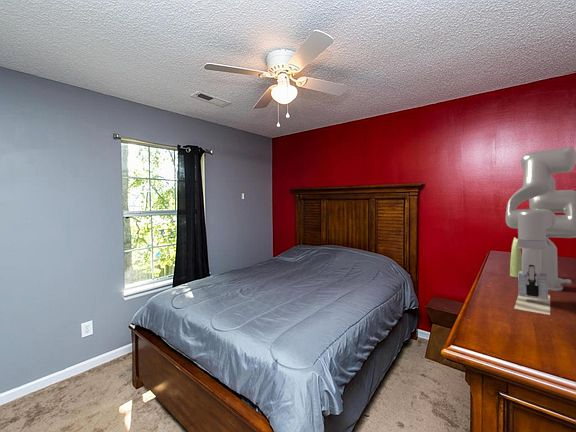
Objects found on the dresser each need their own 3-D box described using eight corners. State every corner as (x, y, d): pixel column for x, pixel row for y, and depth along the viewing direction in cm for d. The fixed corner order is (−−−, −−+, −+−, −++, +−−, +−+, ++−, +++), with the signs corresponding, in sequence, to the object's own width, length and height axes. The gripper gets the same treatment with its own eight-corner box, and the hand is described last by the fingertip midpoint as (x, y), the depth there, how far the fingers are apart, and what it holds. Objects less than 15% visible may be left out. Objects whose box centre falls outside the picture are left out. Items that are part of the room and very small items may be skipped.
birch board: (519, 294, 112) (519, 291, 112) (550, 299, 105) (550, 295, 105) (514, 312, 94) (514, 308, 94) (550, 319, 88) (550, 314, 88)
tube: (526, 277, 135) (526, 238, 134) (518, 278, 133) (517, 239, 133) (514, 275, 140) (514, 237, 140) (507, 276, 139) (506, 237, 138)
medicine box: (548, 297, 98) (547, 273, 98) (548, 300, 95) (547, 275, 95) (519, 293, 104) (519, 270, 104) (518, 296, 101) (518, 272, 101)
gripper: (520, 241, 108) (521, 286, 108) (516, 246, 96) (517, 298, 96) (546, 242, 103) (547, 290, 103) (545, 248, 90) (546, 302, 91)
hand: (532, 293), depth 100 cm, fingers closed on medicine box, 4 cm apart
